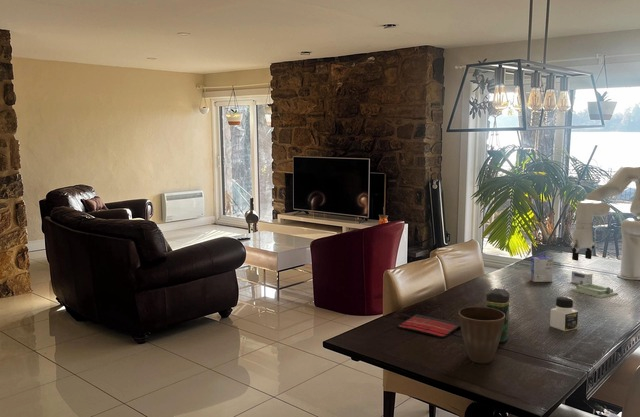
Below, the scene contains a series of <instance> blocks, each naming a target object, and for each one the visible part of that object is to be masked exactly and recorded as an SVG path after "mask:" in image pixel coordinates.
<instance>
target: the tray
mask: <svg viewBox="0 0 640 417" xmlns="http://www.w3.org/2000/svg"><path fill="white" fill-rule="evenodd" d="M570 290H571V291H573V292H577V293H580V294H584V295H588V296H591V295H592V297H596V298H600V299H603V298H608V297H612V296H617V295H619V294H618V292H617V291H614V289H613V288H611V287H607V286H602V285H598V284H595V283H592V284H590V283H587V284H583V281H580V284H576V286H575V287H571V289H570Z"/></svg>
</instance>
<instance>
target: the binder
mask: <svg viewBox="0 0 640 417" xmlns="http://www.w3.org/2000/svg"><path fill="white" fill-rule="evenodd" d="M397 328H398V329H400V328H402V329H401V330H405V329H406V331H410V330H411V332H416V333H420V334H424V335H429V336H432V337H435V338H438V339H444V338H445V339H446V338H448V337H450V336H451V335H453V334H455V333H457V332H458V331H459V330H457V329H459V328H460V329H461V327H460V322H454V321H450V320H447V319H446V320H445V319H439V318H435V317H432V316H425V315H423V314H422V315H421V314H418V313H416V314H414V315H412V316H411V317H408V319H406V320H404V321H402V322H401V323H399V324H398V325H397Z"/></svg>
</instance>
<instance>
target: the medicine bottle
mask: <svg viewBox="0 0 640 417" xmlns="http://www.w3.org/2000/svg"><path fill="white" fill-rule="evenodd" d="M549 317H550V319H549V321H550V322H549V327H551V328H554V329H557V330H559V331H562V332H568V331H572V330H577V329H578V320H579V319H578V318H579V311H578V310H577V309H574V299H573V298H571V297H569V296H564V295H563V296H557V298H555V307H554V308H551V309H550V316H549Z"/></svg>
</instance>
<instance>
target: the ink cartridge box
mask: <svg viewBox="0 0 640 417" xmlns="http://www.w3.org/2000/svg"><path fill="white" fill-rule="evenodd" d="M545 254H546V253H545V252H537V257H536V256H535V257H530V280H531V282H535V283H541V282H542V283H545V282H547V283H548V282H550V283H552V282H553V273H554V272H553V270H554V268H553V267H554V258H552V257H550V256H546V255H545Z"/></svg>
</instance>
